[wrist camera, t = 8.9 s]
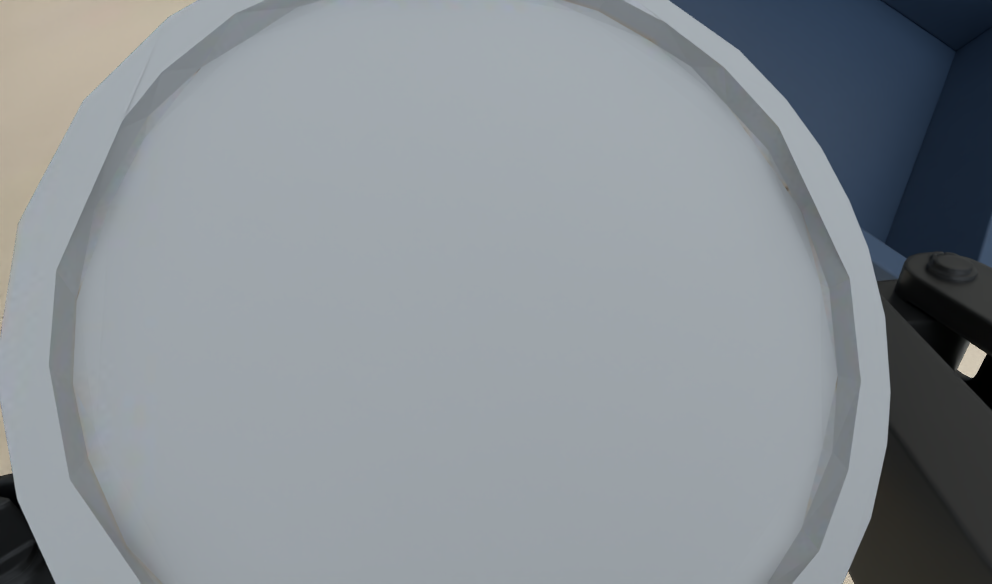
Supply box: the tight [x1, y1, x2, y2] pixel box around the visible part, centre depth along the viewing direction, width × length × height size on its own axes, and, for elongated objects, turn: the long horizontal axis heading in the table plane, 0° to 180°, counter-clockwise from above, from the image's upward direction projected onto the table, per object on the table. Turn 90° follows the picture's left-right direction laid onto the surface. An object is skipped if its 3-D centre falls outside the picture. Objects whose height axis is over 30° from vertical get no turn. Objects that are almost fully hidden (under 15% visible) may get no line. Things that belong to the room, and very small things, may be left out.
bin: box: [669, 0, 992, 281], centre depth 20 cm, size 17×17×5 cm
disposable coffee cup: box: [0, 0, 891, 584], centre depth 11 cm, size 10×10×12 cm
